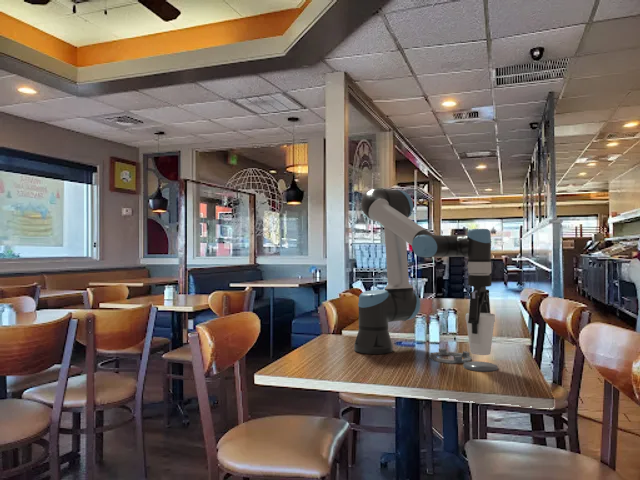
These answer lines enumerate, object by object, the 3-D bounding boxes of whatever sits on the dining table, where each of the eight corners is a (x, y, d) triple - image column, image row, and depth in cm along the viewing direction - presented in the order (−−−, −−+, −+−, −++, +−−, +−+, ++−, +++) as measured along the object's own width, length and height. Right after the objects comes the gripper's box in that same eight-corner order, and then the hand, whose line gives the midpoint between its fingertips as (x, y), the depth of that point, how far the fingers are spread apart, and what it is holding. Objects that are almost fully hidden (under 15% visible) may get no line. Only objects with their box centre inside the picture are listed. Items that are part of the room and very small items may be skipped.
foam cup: (467, 355, 161) (466, 315, 161) (464, 349, 170) (464, 312, 170) (497, 356, 159) (497, 316, 159) (493, 350, 168) (492, 312, 168)
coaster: (458, 368, 163) (458, 366, 163) (469, 362, 172) (469, 359, 172) (492, 373, 157) (492, 370, 157) (501, 366, 166) (501, 364, 166)
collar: (424, 359, 176) (424, 353, 176) (439, 352, 187) (438, 347, 187) (462, 365, 168) (462, 358, 168) (474, 357, 179) (474, 351, 179)
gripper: (478, 272, 176) (479, 335, 176) (457, 275, 158) (458, 345, 158) (499, 273, 172) (500, 337, 171) (481, 276, 154) (481, 347, 153)
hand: (480, 340), depth 164 cm, fingers closed on foam cup, 9 cm apart
